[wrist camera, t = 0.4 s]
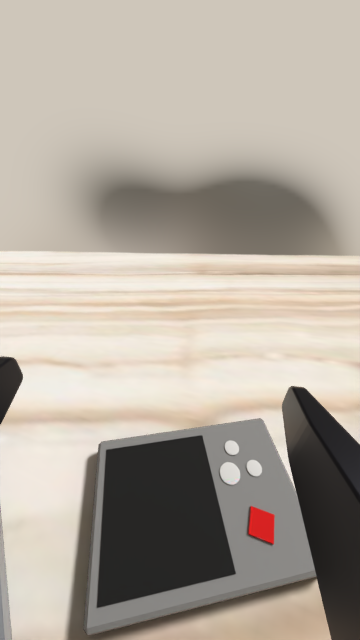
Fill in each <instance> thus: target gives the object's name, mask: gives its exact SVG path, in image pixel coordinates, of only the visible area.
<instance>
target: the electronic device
mask: <svg viewBox="0 0 360 640" xmlns="http://www.w3.org/2000/svg"><path fill="white" fill-rule="evenodd" d="M314 577H317V576H316V572H315V568H314V564H313V560H312V555H311V551H310V547H309V543H308V539H307V534H306V530H305V526H304V522H303V518H302V514H301V509H300V505H299V501H298V497H297V493H296V491H295V488H294V486H293V484H292V482H291V480H290V478H289V475H288V473H287V471H286V469H285V467H284V464H283V462H282V460H281V458H280V456H279V454H278V451H277V449H276V447H275V445H274V443H273V440H272V438H271V436H270V434H269V432H268V430H267V427H266V425H265V423H264V421H263V420H262V419H260V418H259V419H252V420H245V421H238V422H232V423H225V424H218V425H211V426H205V427H198V428H191V429H184V430H177V431H171V432H164V433H157V434H150V435H144V436H137V437H130V438H123V439H117V440H110V441H103V442H101V443H100V444H99V447H98V459H97V471H96V483H95V496H94V508H93V520H92V532H91V544H90V556H89V568H88V581H87V593H86V605H85V617H84V629H83V630H84V631H85V632H86V634H87V635H95V634H98V633H102V632H106V631H110V630H114V629H118V628H122V627H125V626H129V625H133V624H137V623H141V622H145V621H149V620H152V619H156V618H160V617H164V616H168V615H172V614H175V613H179V612H183V611H187V610H191V609H195V608H199V607H202V606H206V605H210V604H214V603H218V602H222V601H226V600H229V599H233V598H237V597H241V596H245V595H249V594H253V593H256V592H260V591H264V590H268V589H272V588H276V587H280V586H283V585H287V584H291V583H295V582H299V581H303V580H307V579H310V578H314Z"/></svg>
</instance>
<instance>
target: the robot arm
mask: <svg viewBox="0 0 360 640" xmlns="http://www.w3.org/2000/svg"><path fill="white" fill-rule="evenodd" d="M22 379H23V374H22V372H21V370H20V367H19V365H18V363H17V361H16V359H14V358H12V357H0V424H1V422H2V420H3V419H4V417H5V415H6V413H7V411H8V409H9V407H10V405H11V403H12V401H13V399H14V396H15V394H16V392H17V390H18V388H19V386H20V384H21V382H22ZM282 412H283V420H284V428H285V436H286V444H287V452H288V458H289V463H290V467H291V472H292V476H293V480H294V484H295V488H296V493H297V497H298V501H299V505H300V509H301V514H302V518H303V522H304V526H305V530H306V534H307V539H308V543H309V547H310V551H311V555H312V560H313V564H314V568H315V572H316V576H317V581H318V585H319V589H320V593H321V597H322V601H323V606H324V610H325V614H326V618H327V622H328V627H329V631H330V635H331V639H332V640H360V444H359V443H358V442H357V441H356V440H355V439H354V438H353V437H352V436H351V435H350V434H349V433H348V432H347V431H346V430H345V429H344V428H343V427H342V426H341V425H340V424H339V423H338V422H337V421H336V420H335V418H334V417H333V416H332V415H331V414H330V413H329V412H328V411H327V410H326V409H325V408H324V407H323V406H322V405H321V404H320V403H319V402H318V401H317V400H316V399H315V398H314V397H313V396H312V395H311V394H310V393H309V392H308V391H307V390H306V389H305V388H303V387H296V386H291V387H290V388H289V389H288V391H287V394H286V396H285V398H284V401H283V404H282Z"/></svg>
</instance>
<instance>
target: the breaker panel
mask: <svg viewBox="0 0 360 640" xmlns="http://www.w3.org/2000/svg"><path fill="white" fill-rule="evenodd" d="M0 640H12V634H11V623H10V611H9V600H8V588H7V577H6V565H5V554H4V542H3V531H2V519H1V508H0Z"/></svg>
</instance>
